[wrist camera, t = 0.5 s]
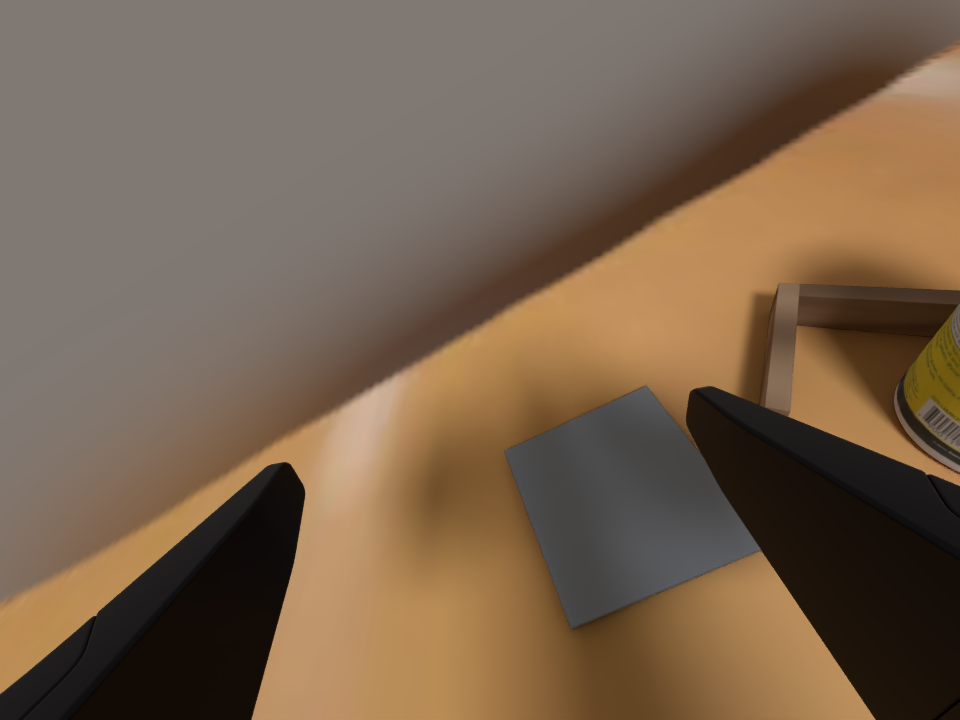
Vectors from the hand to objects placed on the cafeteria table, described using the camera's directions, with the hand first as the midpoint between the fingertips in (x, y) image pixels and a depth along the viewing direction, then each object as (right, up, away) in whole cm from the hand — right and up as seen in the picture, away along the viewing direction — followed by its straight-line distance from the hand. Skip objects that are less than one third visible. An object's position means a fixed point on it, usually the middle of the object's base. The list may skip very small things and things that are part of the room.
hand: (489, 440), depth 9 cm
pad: (+7, -6, +13) cm, 16 cm away
